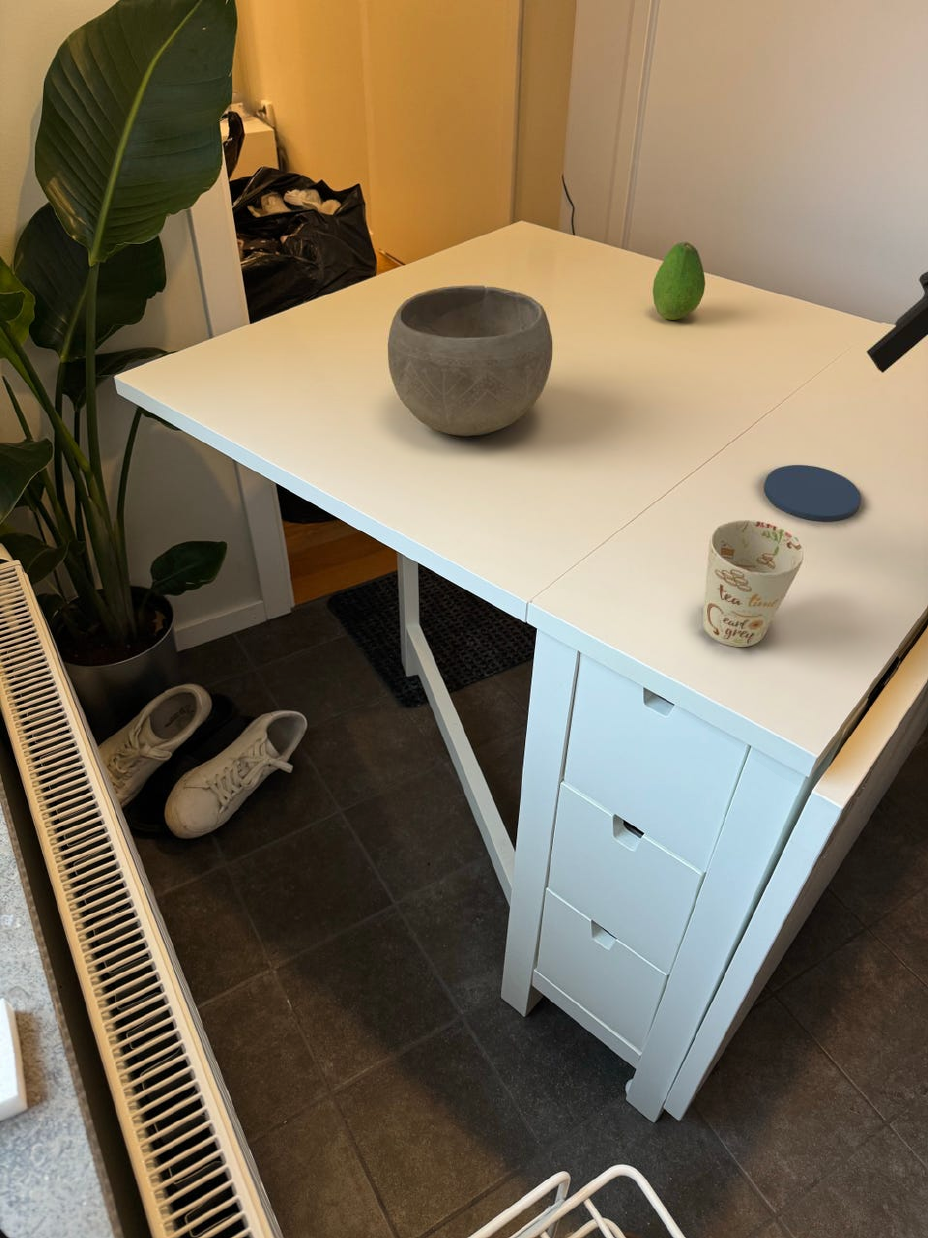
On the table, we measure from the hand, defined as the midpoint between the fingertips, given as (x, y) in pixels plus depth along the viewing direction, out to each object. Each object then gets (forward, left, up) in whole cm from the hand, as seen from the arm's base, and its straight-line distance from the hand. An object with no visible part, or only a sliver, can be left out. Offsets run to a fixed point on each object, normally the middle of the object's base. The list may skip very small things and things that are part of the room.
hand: (919, 397), depth 76 cm
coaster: (+16, -12, -23) cm, 30 cm away
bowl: (+51, +15, -23) cm, 58 cm away
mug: (+3, +10, -23) cm, 26 cm away
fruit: (+65, -31, -23) cm, 75 cm away
